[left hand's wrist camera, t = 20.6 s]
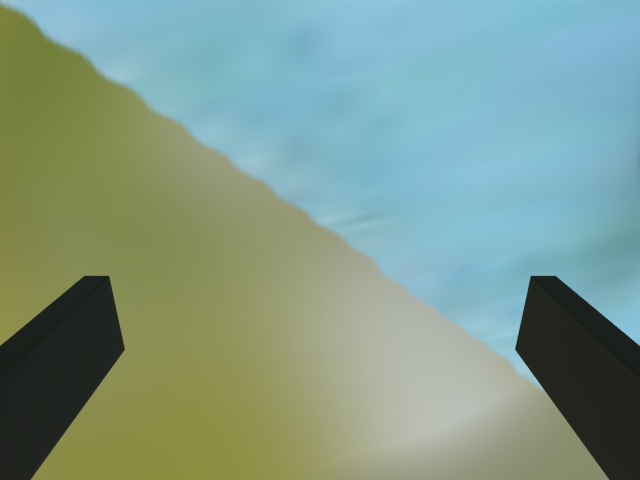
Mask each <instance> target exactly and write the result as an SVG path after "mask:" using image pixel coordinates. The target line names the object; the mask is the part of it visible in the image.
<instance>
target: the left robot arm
mask: <svg viewBox="0 0 640 480" xmlns="http://www.w3.org/2000/svg"><path fill="white" fill-rule="evenodd" d="M124 350H125V348H124V344H123V339H122V334H121V329H120V325H119V320H118V315H117V311H116V306H115V302H114V297H113V292H112V287H111V283H110V278H109V276H84V277H83V278H81V279H80V280H79V281H78V282H77V283H75V284H74V285H73V286H72V287H71V288H69V289H68V290H67V291H66V292H65V293H63V294H62V295H61V296H60V297H59V298H57V299H56V300H55V301H54V302H53V303H51V304H50V305H49V306H48V307H47V308H45V309H44V310H43V311H42V312H41V313H39V314H38V315H37V316H36V317H35V318H33V319H32V320H31V321H30V322H29V323H27V324H26V325H25V326H24V327H23V328H21V329H20V330H19V331H18V332H16V333H15V334H14V335H13V336H12V337H10V338H9V339H8V340H7V341H6V342H4V343H3V344H2V345H1V346H0V480H31V478H32V477H33V476H34V474H35V473H36V471H37V470H38V469H39V467H40V466H41V464H42V463H43V462H44V460H45V459H46V458H47V456H48V455H49V454H50V452H51V451H52V449H53V448H54V447H55V445H56V444H57V442H58V441H59V440H60V438H61V437H62V436H63V434H64V433H65V431H66V430H67V429H68V427H69V426H70V425H71V423H72V422H73V420H74V419H75V418H76V416H77V415H78V413H79V412H80V411H81V409H82V408H83V407H84V405H85V404H86V402H87V401H88V400H89V398H90V397H91V396H92V394H93V393H94V391H95V390H96V389H97V387H98V386H99V384H100V383H101V382H102V380H103V379H104V378H105V376H106V375H107V373H108V372H109V371H110V369H111V368H112V366H113V365H114V364H115V362H116V361H117V360H118V358H119V357H120V355H121V354H122V353H123V351H124ZM515 350H516V351H517V353H518V354H519V355H520V357H521V358H522V360H523V361H524V362H525V364H526V365H527V367H528V368H529V369H530V371H531V372H532V373H533V375H534V376H535V378H536V379H537V380H538V382H539V383H540V384H541V386H542V387H543V389H544V390H545V391H546V393H547V394H548V396H549V397H550V398H551V400H552V401H553V402H554V404H555V405H556V407H557V408H558V409H559V411H560V412H561V413H562V415H563V416H564V418H565V419H566V420H567V422H568V423H569V424H570V426H571V427H572V429H573V430H574V431H575V433H576V434H577V436H578V437H579V438H580V440H581V441H582V442H583V444H584V445H585V447H586V448H587V449H588V451H589V452H590V454H591V455H592V456H593V458H594V459H595V460H596V462H597V463H598V465H599V466H600V467H601V469H602V470H603V471H604V473H605V474H606V476H607V477H608V478H609V480H640V346H639V345H638V344H637V343H636V342H634V341H633V340H632V339H631V338H630V337H628V336H627V335H626V334H625V333H624V332H622V331H621V330H620V329H619V328H618V327H616V326H615V325H614V324H613V323H612V322H610V321H609V320H608V319H607V318H605V317H604V316H603V315H602V314H601V313H599V312H598V311H597V310H596V309H595V308H593V307H592V306H591V305H590V304H589V303H587V302H586V301H585V300H584V299H583V298H581V297H580V296H579V295H578V294H577V293H575V292H574V291H573V290H572V289H571V288H569V287H568V286H567V285H566V284H565V283H563V282H562V281H561V280H560V279H559V278H557V277H556V276H531V278H530V283H529V287H528V292H527V297H526V301H525V306H524V311H523V315H522V320H521V325H520V329H519V334H518V339H517V343H516V348H515Z"/></svg>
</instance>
